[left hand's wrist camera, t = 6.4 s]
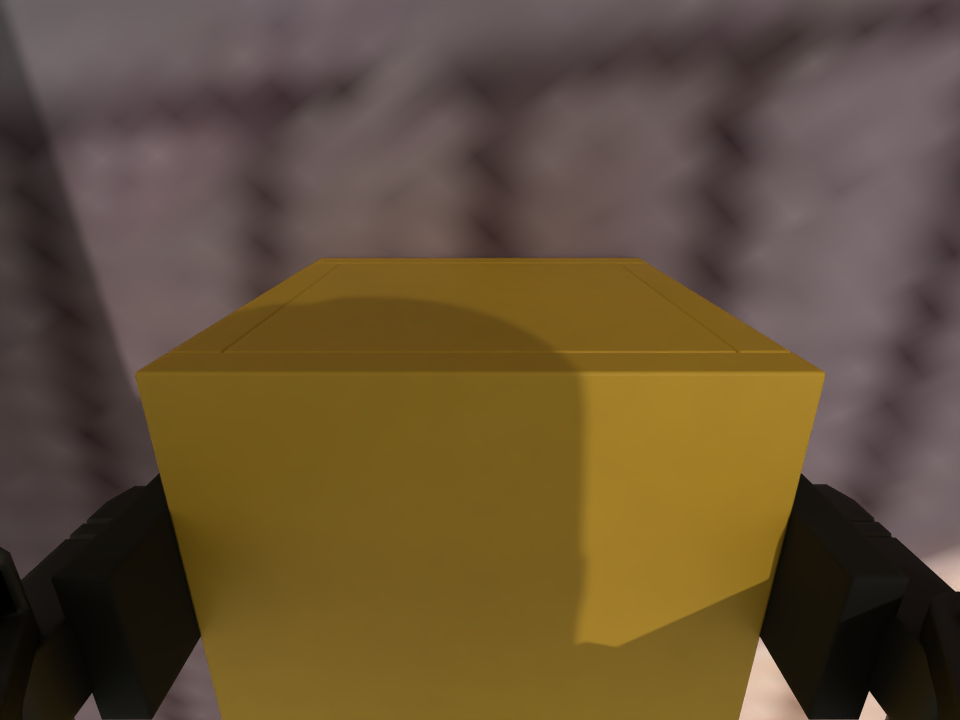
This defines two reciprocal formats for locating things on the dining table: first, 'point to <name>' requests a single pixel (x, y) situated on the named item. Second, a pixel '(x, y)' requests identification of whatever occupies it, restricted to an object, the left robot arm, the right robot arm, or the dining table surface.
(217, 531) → the cabinet
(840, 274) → the dining table surface
